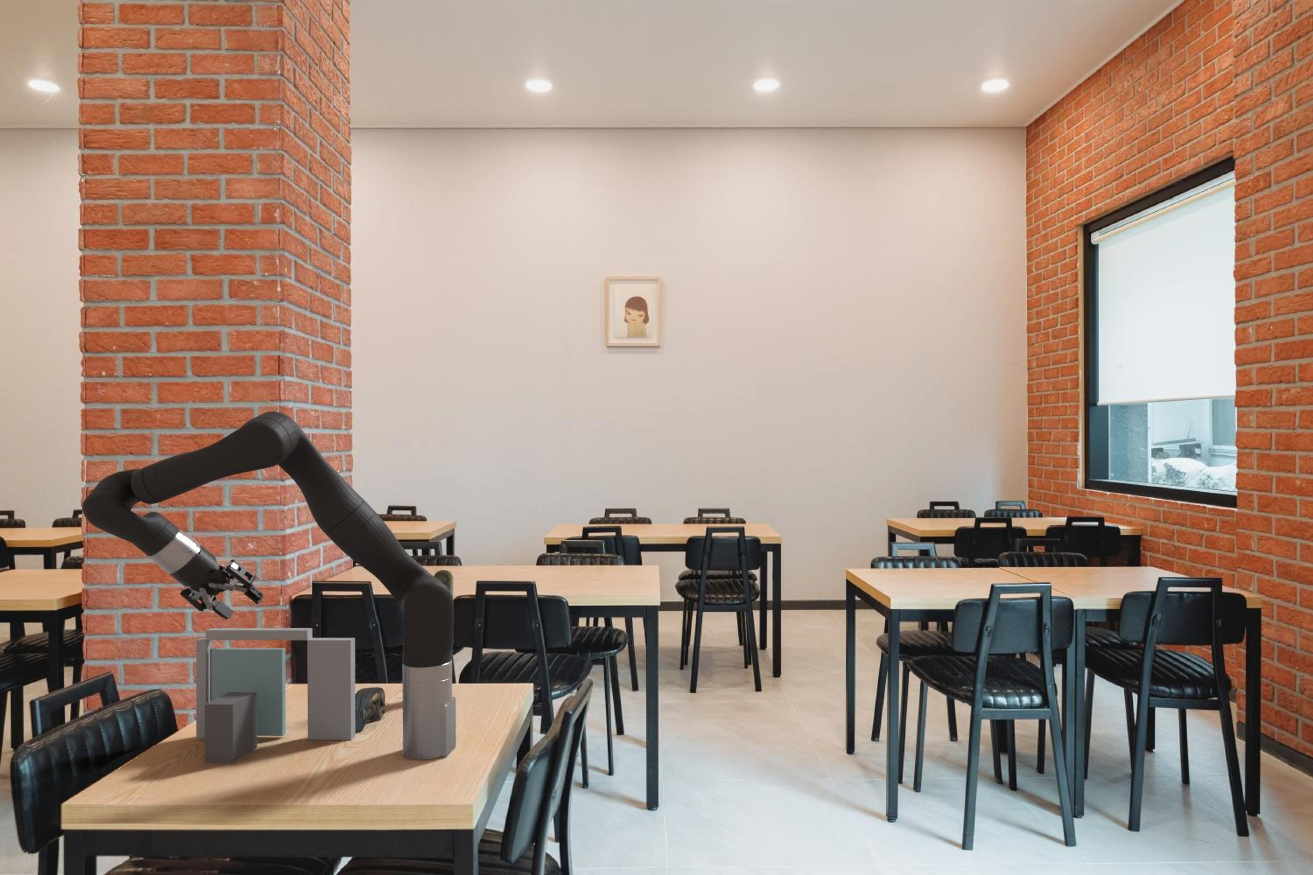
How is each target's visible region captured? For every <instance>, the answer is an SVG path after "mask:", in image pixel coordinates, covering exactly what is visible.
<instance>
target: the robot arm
mask: <svg viewBox="0 0 1313 875" xmlns="http://www.w3.org/2000/svg"><path fill="white" fill-rule="evenodd" d="M277 466H278V467H279V468H280V469H282V470H283V471H284V472H285V473H286V475H288V476H289V477H290V478H291V479H292V480H293V481H294V483H295V484H296V486H297V487H298V489H299V490H300V491H301V494H302V495H303V497H304V499H305V502H306V505H307V506H308V508H309V512H310V513H311V515H312V517H313V519H314V521H315V523H316V524H317V525H318V527H319V528H320V529H321V531H322V532H323V533H324V534H325V536H327V537H328V538H329V539H330V540H331V541H332V542H333V544H334V545H335V546H336V547H337V548H339V550H340V551H342V552H343V553H344V554H345V555H346V556H348V557H349V558H350V559H351V560H352V561H353V562H355V563H356V564H358V565H359V566H361V568H363V569H364V570H366V571H367V572H369V573H370V574H371V575H373V576H374V577H375V578H377V580H378V581H379V582H380V583H381V584H382V585H383V586H384V587H385V589H386V590H387V591H388V592H389V593H390V595H391V596H392V598H393V599H394V600H395V601H396V603H397V604H398V606H399V607H400V608H401V610H402V612H403V647H402V653H401V654H402V655H401V656H402V665H401V666H402V755H403V756H404V758H407V759H411V760H418V761H419V760H431V759H437V758H445V757H447V756H448V755H450V753H451V752H452V751H453V750H454V748H456V745H457V730H456V729H457V722H456V720H457V717H456V716H457V713H456V712H457V708H456V706H457V705H456V704H457V703H456V697H455V696H453V648H454V640H455V639H454V638H455V636H454V635H455V634H454V629H455V627H454V626H455V618H454V617H455V609H454V605H455V604H454V596H453V597H452V594H451V592H450V590H449V589H448V588H447V587H446V586H445V585H444V584H443V583H442V582H441V581H440V580H439V579H437V578H436V577H434V575H433V574H431V573H430V572H429V571H428V570H427V569H425V568H424V566H422V565H421V564H420V563H419V562H417V561H416V559H414V557H412V556H411V555H410V554H409V553H408V552H407V551H406V550H405V548H404V547H403V546H402V544H401V543H400V541H399V540H398V538H397V537H396V536H395V534H394V533H393V532H392V530H391V529H390V528H389V526H388V525H387V523H386V522H385V521H384V520H383V519H382V518H381V517H380V516H381V515H379V514H378V512H376V511H375V509H374V508H373V507H372V506H371V505H370V504H369V503H368V502H367V501H366V500H365V499H364V498H363V497H362V496H361V495H359V493H358V492H357V491H356V490H354V488H353V487H352V486H351V485H350V484H349V483H348V482H347V481H346V480H345V479H344V477H342V476H341V475H340V473H339V472H338V471H337V470H336V469H335V468H334V467H333V466H332V465H331V464H330V463H329V462H328V461H327V460H326V458H325V457H324V456H323V455H322V453H320V451H319V450H318V449H317V447H316V446H315V444H314V443H313V442H312V441H311V439H310V438H309V437H308V435H307V434H306V433H305V432H304V430H303V429H302V428H301V426H300V425H299V424H298V423H297V422H296V421H295V420H294V419H293V418H291V417H290V416H289V415H287V414H285V413H283V412H280V411H277V410H276V411H273V410H272V411H267V412H266V411H265V412H262V413H261V414H258V415H257V416H255V417H253V418H251V419H250V420H248V421H246V422H245V423H243V425H241V427H239V428H238V429H236V430H234V431H233V432H231V433H230V434H228V435H226V436H225V437H223V438H222V439H219V440H218V441H216V442H214V443H211V444H210V445H207V446H205V447H202V448H200V449H195V450H192V451H188V452H184V453H181V454H180V453H179V454H177V455H173V456H170V457H168V458H167V457H166V458H164V459H161V460H159V461H156V462H153V463H152V464H148V465H146V466H144V467H142V468H133V469H127V470H121V471H117V472H114V473H112V474H109V475H108V476H107V475H106V477H104V478H103V479H101V480H100V481H99V482H98V483H97V484H96V485H95V487H94V488H93V489H92V490H91V492H90V493H89V494H88V495H87V496H86V497H85V499H84V500H83V502H82V505H81V511H82V514H83V516H84V518H85V519H86V520H87V521H88V523H89V524H90V525H93V526H94V527H95V528H96V529H97V528H98V529H99V530H101V531H103V532H106V533H107V534H110V535H112V536H114V537H117V538H118V539H122V540H124V541H127V542H129V543H131V544H132V545H134V546H135V547H136V548H137V549H138V550H140V551H141V552H142V553H143V554H145V555H146V556H147V557H148V558H150V560H152V561H153V562H154V563H155V564H156V565H157V566H158V567H159V568H160V569H162V571H164V572H165V573H167V575H169V576H171V577H172V578H173V579H174V580H176V581H177V582H179V584H181V585H182V586H183V588H182V589H181V590H180V593H179V594H180V596H181V597H182V598H184V599H185V601H187V602H188V603H189V604H190V605H192V606H193V607H194V608H195V609H197V610H198V611H199V612H204V610H209V611H213V612H214V613H215V614H217V615H218V616H219V617H220V618H223V619H224V620H229V619H231V617H232V616H233V613H234V611H233V609H231V608H230V607H229V606H228V605H227V604H225V603H224V602H223V601H222V600H219V598H218V595H219V594H220V593H224V592H226V591H229V592H234V591H237V592H241V593H243V594H244V595H245V596H246V597H247V598H248V599H250V601H252V602H253V603H255V604H256V605H258V604H259V605H260V603H262V602H263V599H264V597H265V596H264V594H263V592H262V591H260V589H259V588H257V587H256V586H255V585H254V584H253V583H254V581H255V580H256V578H257V576H256V574H254V573H253V572H251V571H250V569H247V568H246V567H245V566H244V565H242V564H241V563H240V562H238V561H237V560H235V559H231V560H230V561H229V562H228V563H227V564H226V565H222V564H219V563H218V562H217V558H216V556H215V555H214V554H213V553H212V552H210V551H209V550H208V549H207V548H205V547H204V546H203V545H202V544H200V543H199V542H198V541H197V540H196V539H194V538H193V537H192V536H191V535H190V534H188V533H186V532H185V531H183V530H182V529H180V528H179V527H178V526H176V525H175V523H173V522H171V520H169V519H168V518H167V517H165V516H164V515H163V514H161V513H160V512H157V511H149V512H147V513H145V514H144V515H139V514H137V513H135V512H134V511H132V509H133V508H134V506H135V505H136V504H138V503H140V502H141V503H144V504H147V505H155V504H158V503H159V504H160V503H163V502H165V501H167V500H170V499H173V498H175V497H177V496H178V497H179V496H180V495H183V494H185V493H188V492H190V491H194V490H195V489H197V488H200V487H202V486H205V485H206V484H209V483H212V482H215V481H217V480H221V479H224V478H228V477H231V476H235V475H240V474H245V473H249V472H255V471H260V470H266V469H269V468H274V467H277ZM231 580H232V582H231ZM240 584H242V585H240Z"/></svg>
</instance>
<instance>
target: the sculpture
mask: <svg viewBox="0 0 1313 875" xmlns="http://www.w3.org/2000/svg"><path fill="white" fill-rule="evenodd" d="M385 713H386V692H385V690H384V689H383V688H382V687H377V686H376V687H373V686H372V687H364V688H361V689H359V690H358V691H356V692H355V733H362V732H361V731H364V729H365V726H366V724H367V723H368V722H370V721H369V720H375V721H379V720H381V719H382V718H383V716H384V715H385Z"/></svg>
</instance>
